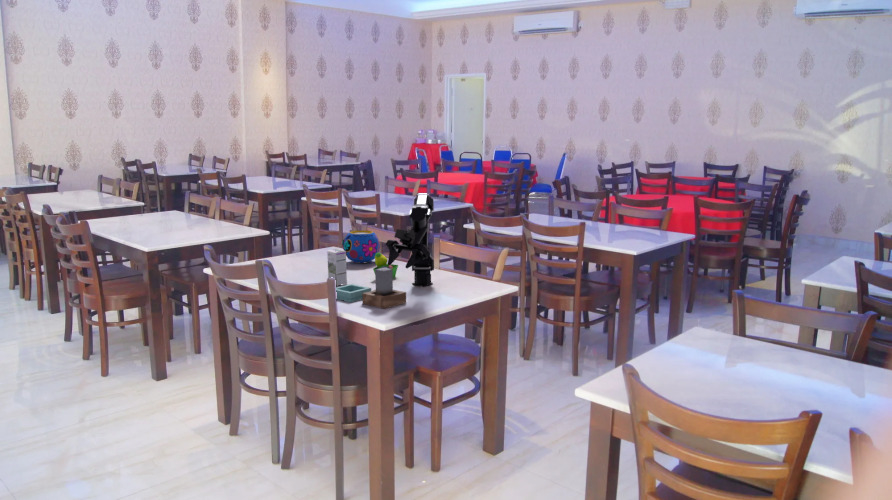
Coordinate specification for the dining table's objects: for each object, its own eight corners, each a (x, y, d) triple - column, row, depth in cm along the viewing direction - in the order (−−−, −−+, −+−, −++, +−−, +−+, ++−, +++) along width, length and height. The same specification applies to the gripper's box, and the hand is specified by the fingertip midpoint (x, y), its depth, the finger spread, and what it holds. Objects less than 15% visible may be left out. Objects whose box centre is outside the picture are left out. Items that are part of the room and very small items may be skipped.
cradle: (327, 297, 266) (327, 289, 266) (352, 291, 276) (351, 283, 276) (350, 302, 258) (350, 294, 258) (375, 296, 268) (374, 287, 268)
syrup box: (347, 284, 288) (346, 250, 286) (336, 286, 284) (335, 252, 281) (339, 282, 292) (338, 248, 290) (327, 284, 288) (326, 250, 285)
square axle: (375, 303, 257) (375, 269, 255) (384, 301, 261) (383, 267, 258) (384, 305, 254) (383, 271, 252) (392, 302, 258) (392, 269, 255)
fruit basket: (388, 281, 293) (388, 255, 291) (369, 280, 296) (369, 254, 294) (399, 276, 304) (398, 251, 302) (380, 274, 306) (380, 249, 304)
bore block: (362, 303, 257) (362, 293, 256) (384, 297, 265) (384, 287, 265) (384, 308, 250) (384, 298, 249) (406, 302, 258) (406, 292, 258)
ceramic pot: (341, 259, 340) (340, 229, 338) (377, 258, 344) (376, 228, 342) (345, 266, 324) (344, 235, 321) (382, 265, 328) (382, 233, 325)
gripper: (388, 219, 267) (368, 250, 261) (424, 223, 256) (405, 256, 249) (402, 236, 275) (383, 267, 268) (438, 241, 263) (419, 274, 257)
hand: (397, 266), depth 261 cm, fingers open, 9 cm apart
